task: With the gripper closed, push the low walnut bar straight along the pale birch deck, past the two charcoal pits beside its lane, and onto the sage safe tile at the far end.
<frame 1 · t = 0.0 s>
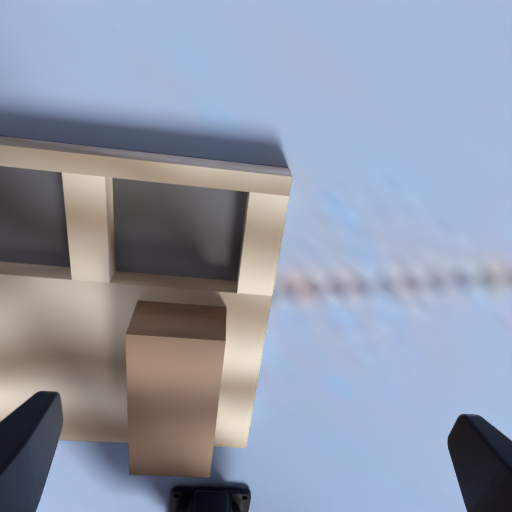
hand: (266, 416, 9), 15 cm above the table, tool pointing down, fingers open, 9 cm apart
bar: (178, 375, 26), point 1 cm above the table, touching trap deck
trap deck: (84, 309, 25), on the table
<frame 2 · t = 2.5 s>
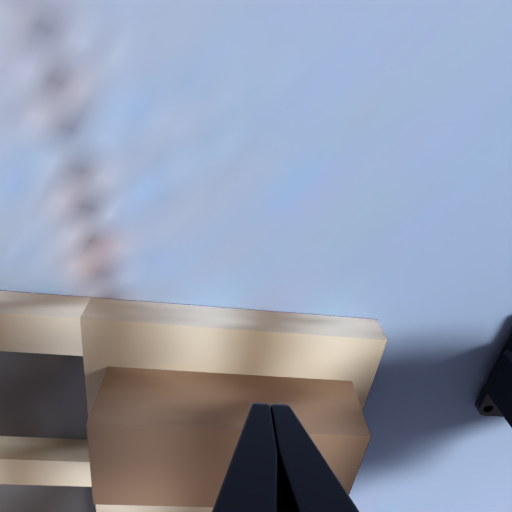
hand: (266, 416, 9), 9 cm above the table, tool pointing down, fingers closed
bar: (228, 413, 20), point 1 cm above the table, touching trap deck
trap deck: (156, 463, 23), on the table
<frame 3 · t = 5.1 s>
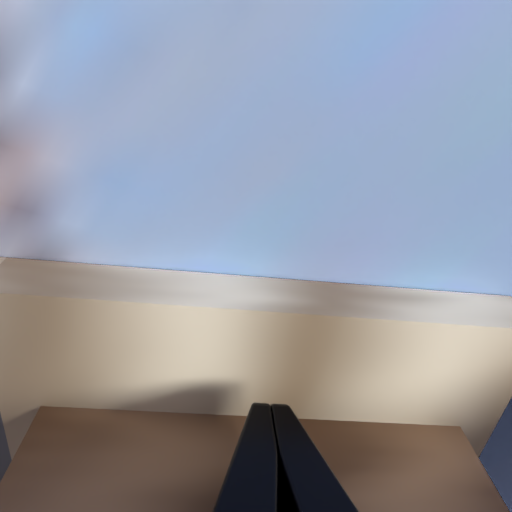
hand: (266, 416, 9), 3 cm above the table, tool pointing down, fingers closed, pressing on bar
bar: (249, 477, 12), point 1 cm above the table, touching gripper, trap deck
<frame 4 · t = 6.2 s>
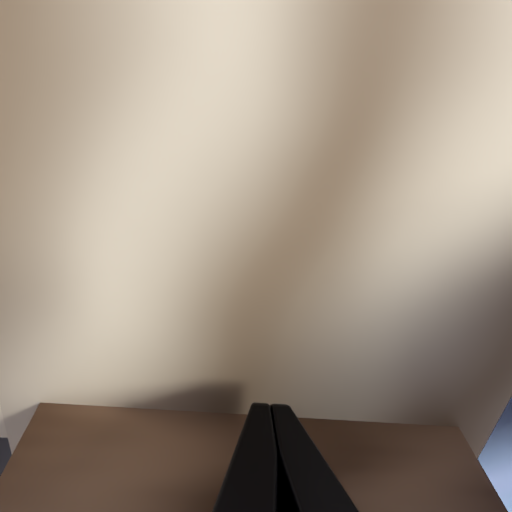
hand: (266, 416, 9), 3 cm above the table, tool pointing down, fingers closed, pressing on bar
bar: (248, 476, 12), point 2 cm above the table, touching gripper, trap deck
trap deck: (137, 398, 12), on the table
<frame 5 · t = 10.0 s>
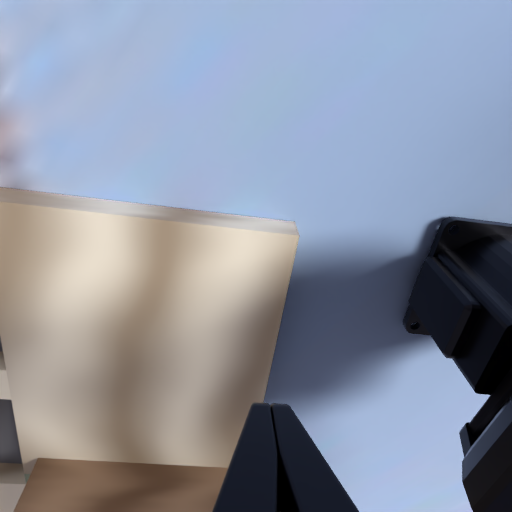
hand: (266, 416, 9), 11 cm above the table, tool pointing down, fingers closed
bar: (136, 489, 25), point 1 cm above the table, touching trap deck
trap deck: (81, 382, 23), on the table
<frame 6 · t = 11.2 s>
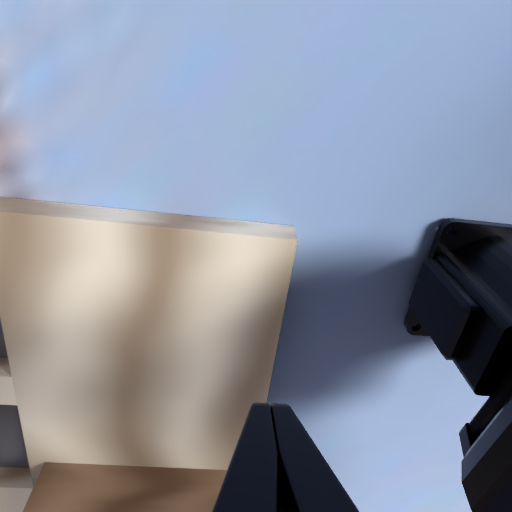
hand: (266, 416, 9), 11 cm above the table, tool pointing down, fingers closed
bar: (141, 492, 26), point 1 cm above the table, touching trap deck
trap deck: (85, 387, 23), on the table
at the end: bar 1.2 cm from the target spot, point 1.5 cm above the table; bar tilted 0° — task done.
